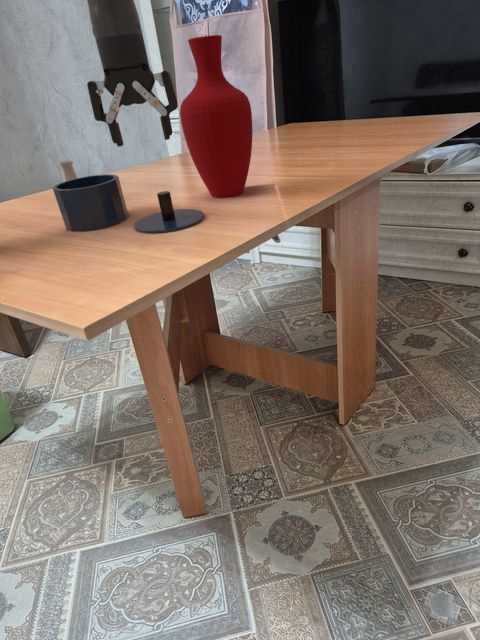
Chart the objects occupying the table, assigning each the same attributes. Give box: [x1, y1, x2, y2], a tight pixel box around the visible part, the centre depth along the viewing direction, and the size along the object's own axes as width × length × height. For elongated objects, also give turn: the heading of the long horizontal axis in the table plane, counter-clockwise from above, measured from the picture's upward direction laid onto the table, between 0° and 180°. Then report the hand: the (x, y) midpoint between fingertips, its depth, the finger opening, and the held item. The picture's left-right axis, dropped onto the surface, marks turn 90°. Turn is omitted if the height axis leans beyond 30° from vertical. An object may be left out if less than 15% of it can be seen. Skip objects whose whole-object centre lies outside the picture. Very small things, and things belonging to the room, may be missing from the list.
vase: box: [179, 34, 253, 199], centre depth 97 cm, size 15×15×30 cm
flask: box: [57, 160, 78, 182], centre depth 111 cm, size 7×7×10 cm
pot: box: [52, 173, 129, 233], centre depth 94 cm, size 13×13×8 cm
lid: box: [133, 190, 205, 234], centre depth 89 cm, size 14×14×6 cm
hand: (144, 142), depth 83 cm, fingers open, 8 cm apart
